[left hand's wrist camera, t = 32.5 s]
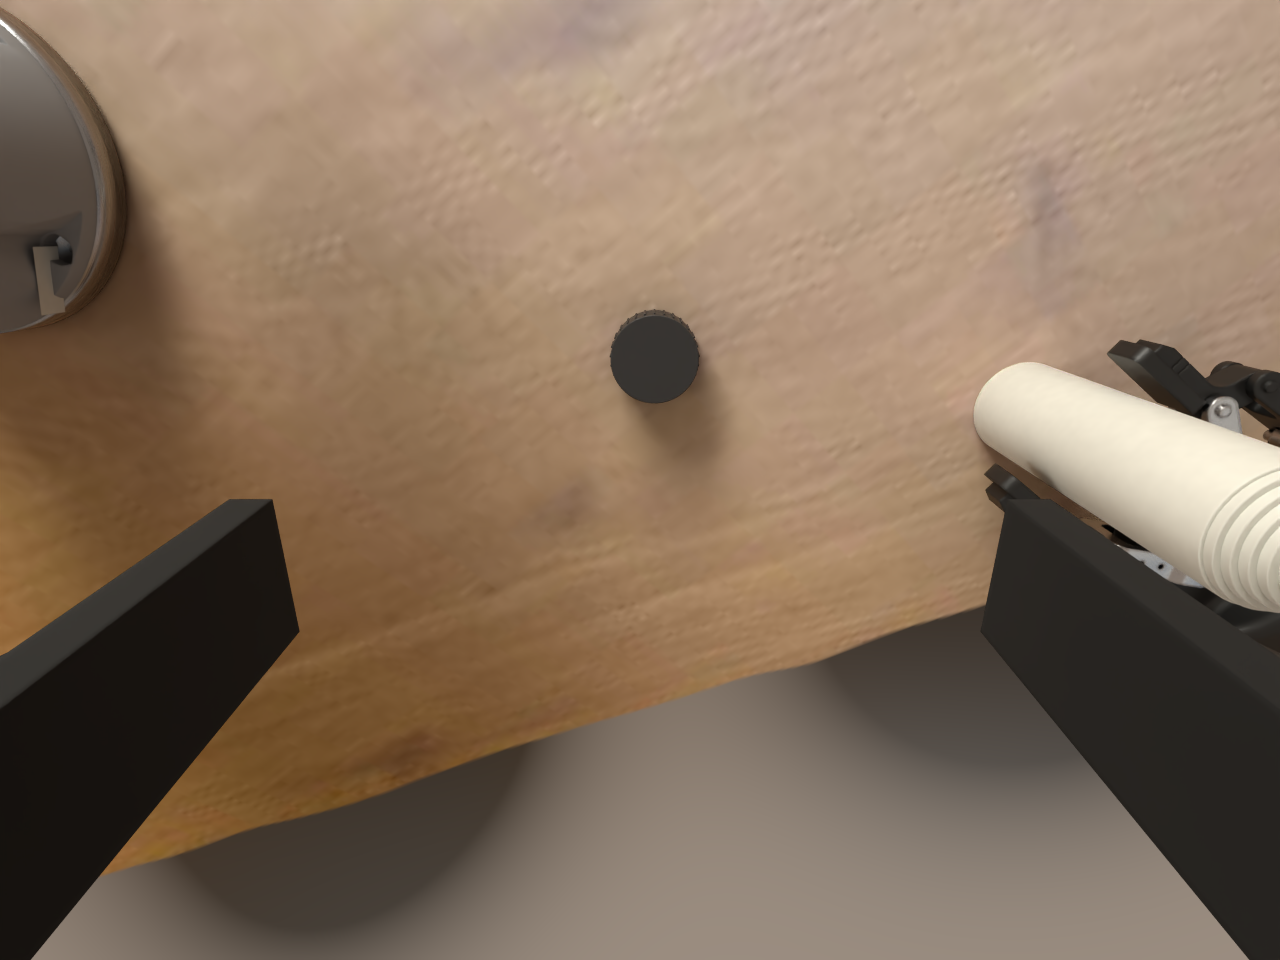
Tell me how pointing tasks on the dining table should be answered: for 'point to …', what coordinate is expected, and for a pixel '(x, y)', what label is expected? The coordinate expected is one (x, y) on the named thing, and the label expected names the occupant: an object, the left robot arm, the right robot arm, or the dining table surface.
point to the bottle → (1147, 474)
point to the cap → (654, 356)
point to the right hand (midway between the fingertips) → (1060, 413)
